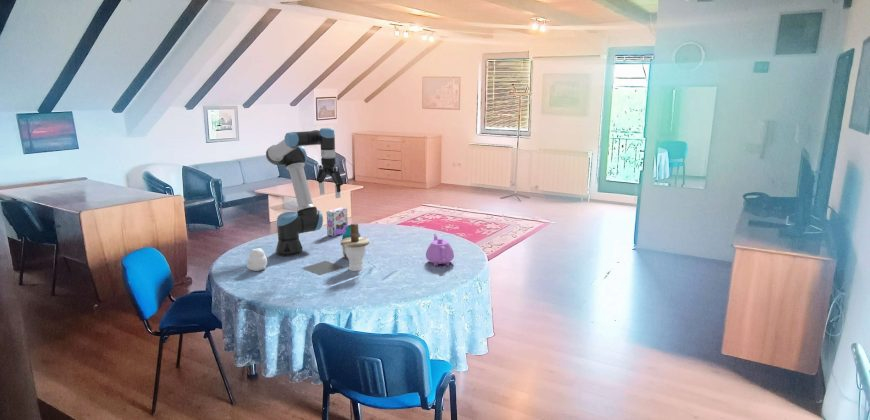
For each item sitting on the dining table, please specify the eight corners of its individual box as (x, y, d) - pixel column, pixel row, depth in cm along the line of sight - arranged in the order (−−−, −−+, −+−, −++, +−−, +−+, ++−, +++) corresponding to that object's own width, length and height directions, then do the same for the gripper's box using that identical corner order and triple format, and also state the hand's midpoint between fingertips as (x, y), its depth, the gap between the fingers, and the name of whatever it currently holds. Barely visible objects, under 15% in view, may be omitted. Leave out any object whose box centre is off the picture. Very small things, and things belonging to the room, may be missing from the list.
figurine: (272, 268, 286) (270, 246, 284) (260, 274, 277) (259, 252, 275) (256, 266, 290) (254, 244, 287) (244, 271, 281) (243, 250, 278)
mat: (301, 269, 284) (301, 268, 283) (325, 262, 295) (325, 260, 295) (320, 276, 274) (319, 275, 273) (344, 268, 285) (344, 267, 285)
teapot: (421, 257, 305) (421, 233, 302) (447, 255, 309) (448, 232, 305) (430, 269, 284) (430, 245, 281) (458, 267, 288) (458, 243, 285)
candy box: (333, 236, 344) (332, 212, 340) (327, 235, 347) (325, 210, 343) (348, 232, 355) (347, 208, 351) (341, 230, 358) (340, 206, 354)
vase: (357, 262, 296) (356, 229, 291) (339, 260, 298) (338, 227, 293) (364, 256, 306) (363, 224, 301) (346, 255, 308) (345, 223, 304)
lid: (334, 243, 279) (333, 224, 277) (356, 237, 290) (356, 219, 288) (353, 249, 270) (352, 229, 267) (375, 242, 281) (374, 224, 278)
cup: (364, 273, 278) (363, 246, 275) (344, 273, 279) (343, 246, 275) (367, 266, 289) (366, 240, 285) (347, 266, 289) (346, 240, 285)
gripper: (308, 155, 291) (310, 194, 296) (337, 160, 275) (339, 200, 280) (319, 154, 296) (321, 192, 301) (348, 158, 280) (350, 198, 285)
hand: (329, 196), depth 291 cm, fingers open, 13 cm apart
